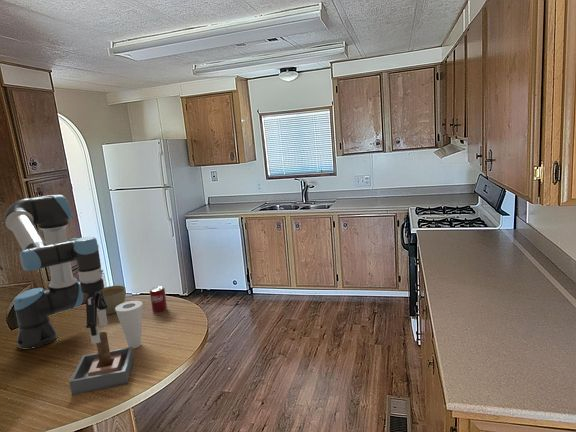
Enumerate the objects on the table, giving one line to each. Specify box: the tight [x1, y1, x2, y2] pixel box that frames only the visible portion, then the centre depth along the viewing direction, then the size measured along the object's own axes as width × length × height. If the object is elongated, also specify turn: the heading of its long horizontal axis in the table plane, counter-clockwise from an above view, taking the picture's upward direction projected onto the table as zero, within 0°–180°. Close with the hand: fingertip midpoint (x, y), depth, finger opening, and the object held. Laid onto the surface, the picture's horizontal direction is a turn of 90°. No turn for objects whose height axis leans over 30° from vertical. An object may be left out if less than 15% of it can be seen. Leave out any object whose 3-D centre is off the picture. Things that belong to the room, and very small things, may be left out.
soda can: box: [149, 286, 168, 315], centre depth 200 cm, size 7×7×12 cm
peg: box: [95, 331, 112, 368], centre depth 147 cm, size 4×4×14 cm
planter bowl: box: [102, 285, 127, 315], centre depth 205 cm, size 16×16×11 cm
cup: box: [115, 300, 143, 349], centre depth 165 cm, size 11×11×18 cm
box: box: [69, 346, 135, 395], centre depth 145 cm, size 18×18×5 cm
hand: (100, 333), depth 146 cm, fingers open, 13 cm apart
